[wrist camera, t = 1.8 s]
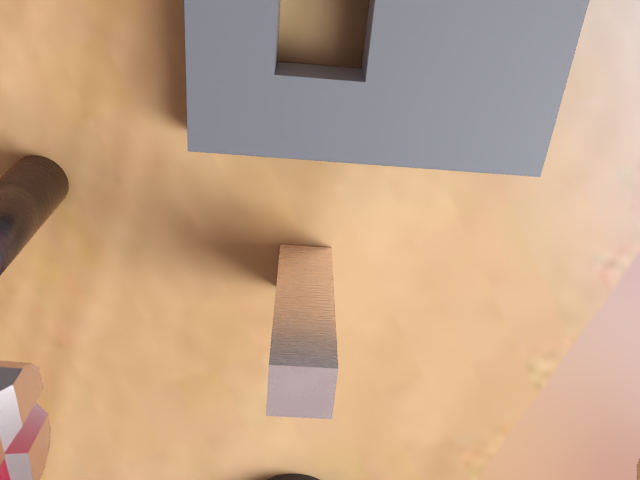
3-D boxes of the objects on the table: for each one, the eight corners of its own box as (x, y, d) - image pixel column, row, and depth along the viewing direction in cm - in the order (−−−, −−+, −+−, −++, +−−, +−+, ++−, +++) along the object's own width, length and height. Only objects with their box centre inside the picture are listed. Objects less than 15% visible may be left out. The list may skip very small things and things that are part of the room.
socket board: (196, 133, 37) (187, 151, 34) (192, -141, 30) (180, -145, 27) (524, 157, 38) (540, 177, 35) (591, -103, 31) (617, -103, 28)
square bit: (277, 286, 42) (266, 415, 32) (280, 244, 40) (268, 364, 30) (327, 290, 42) (331, 419, 32) (331, 247, 41) (337, 368, 30)
